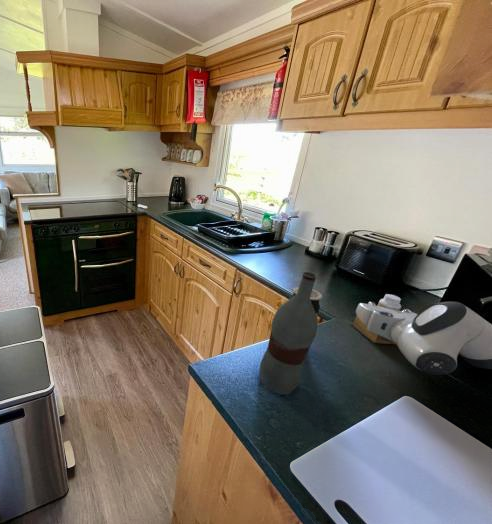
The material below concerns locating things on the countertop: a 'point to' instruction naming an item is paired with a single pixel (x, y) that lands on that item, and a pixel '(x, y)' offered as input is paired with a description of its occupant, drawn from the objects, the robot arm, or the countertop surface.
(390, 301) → the supplement bottle
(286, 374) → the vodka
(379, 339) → the oak block
